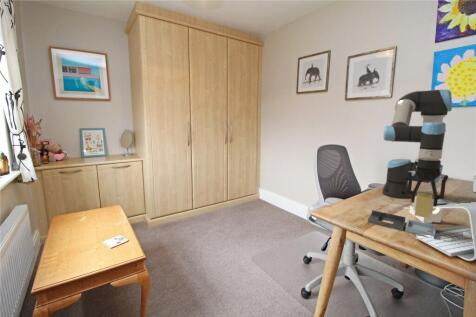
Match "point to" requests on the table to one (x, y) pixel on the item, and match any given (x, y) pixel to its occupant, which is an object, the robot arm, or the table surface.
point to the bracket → (433, 217)
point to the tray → (419, 228)
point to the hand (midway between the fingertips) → (422, 211)
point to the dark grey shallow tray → (397, 220)
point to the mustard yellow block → (423, 205)
